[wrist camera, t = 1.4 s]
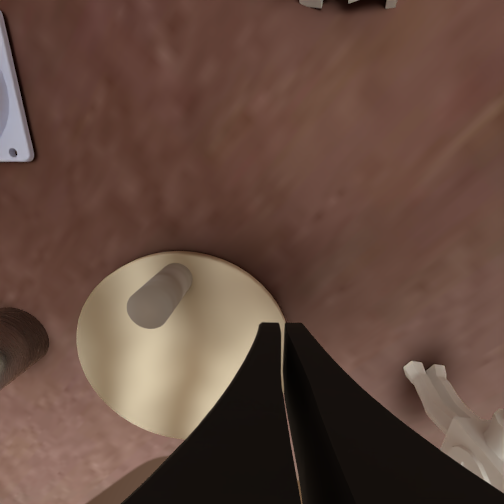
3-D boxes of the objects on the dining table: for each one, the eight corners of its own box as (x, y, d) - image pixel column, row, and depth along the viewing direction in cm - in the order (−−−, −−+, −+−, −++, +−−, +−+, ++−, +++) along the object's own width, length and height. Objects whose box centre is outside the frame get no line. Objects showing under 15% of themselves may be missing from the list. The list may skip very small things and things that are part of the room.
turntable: (104, 424, 20) (55, 500, 15) (67, 249, 16) (-16, 277, 11) (286, 430, 19) (294, 511, 15) (295, 252, 15) (311, 283, 11)
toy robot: (385, 415, 20) (554, 731, 8) (410, 334, 18) (682, 609, 6) (432, 419, 20) (669, 745, 8) (463, 339, 18) (835, 626, 6)
